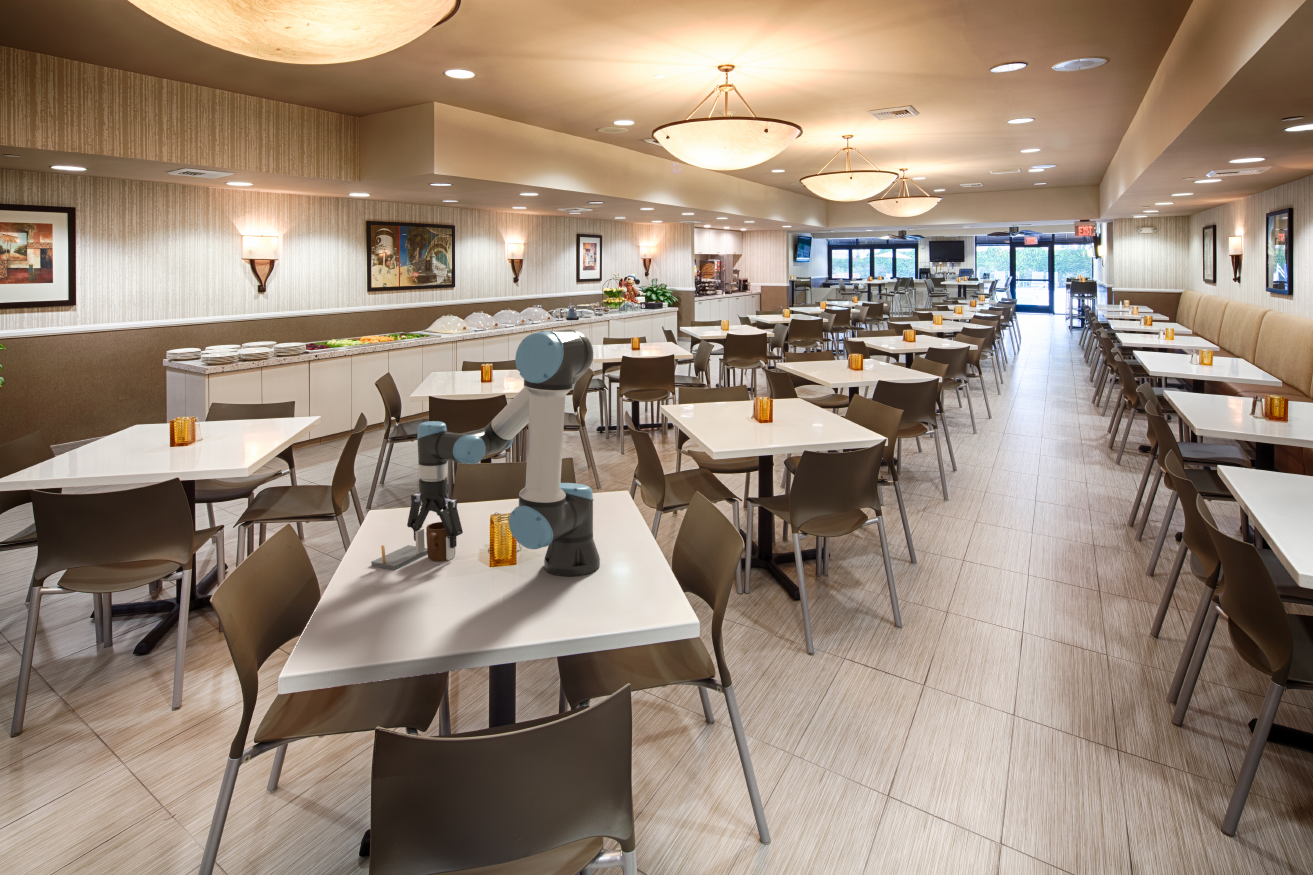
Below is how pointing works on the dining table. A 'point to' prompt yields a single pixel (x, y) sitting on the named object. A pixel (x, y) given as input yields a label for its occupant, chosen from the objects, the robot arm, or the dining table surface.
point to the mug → (436, 541)
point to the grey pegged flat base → (398, 557)
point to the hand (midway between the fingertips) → (435, 555)
